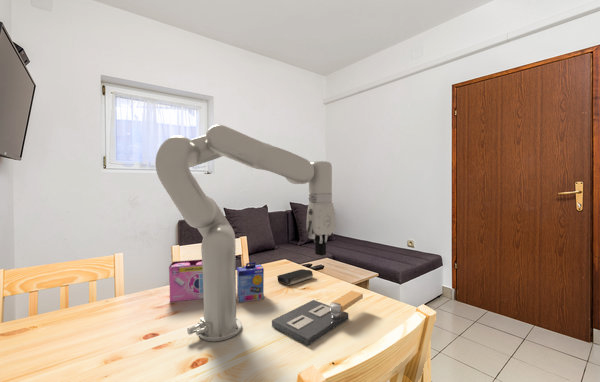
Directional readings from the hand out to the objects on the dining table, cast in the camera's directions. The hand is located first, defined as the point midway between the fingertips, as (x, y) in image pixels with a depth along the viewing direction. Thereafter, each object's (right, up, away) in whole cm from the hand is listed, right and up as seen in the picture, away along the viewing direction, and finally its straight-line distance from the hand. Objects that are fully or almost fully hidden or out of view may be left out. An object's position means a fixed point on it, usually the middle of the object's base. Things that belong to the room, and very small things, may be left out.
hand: (320, 254), depth 90 cm
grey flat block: (-3, -21, -3) cm, 22 cm away
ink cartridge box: (-26, -21, +16) cm, 37 cm away
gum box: (-46, -21, +19) cm, 54 cm away
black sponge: (-9, -21, +35) cm, 42 cm away
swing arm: (+8, -17, +1) cm, 19 cm away
